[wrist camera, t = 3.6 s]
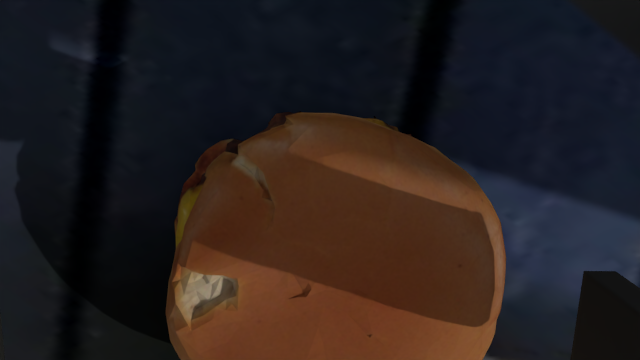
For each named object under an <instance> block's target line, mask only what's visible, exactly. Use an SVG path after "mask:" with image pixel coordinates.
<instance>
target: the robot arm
mask: <svg viewBox="0 0 640 360" xmlns="http://www.w3.org/2000/svg"><path fill="white" fill-rule="evenodd" d="M0 360H5V357H4V346H3V336H2V325H1V315H0ZM571 360H640V288H639V287H637V286H636V285H634V284H633V283H631V282H630V281H629V280H627V279H626V278H624V277H623V276H621V275H620V274H618V273H617V272H616V271H584V274H583V281H582V287H581V294H580V301H579V307H578V314H577V321H576V327H575V334H574V341H573V348H572V354H571Z"/></svg>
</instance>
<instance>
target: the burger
mask: <svg viewBox="0 0 640 360" xmlns="http://www.w3.org/2000/svg"><path fill="white" fill-rule="evenodd" d="M268 124H269V126H268V127H267V128H266V129H265V130H263V131H261V132H259V133H258V134H256V135H254V136H252V137H251V138H249V139H247V140H245V141H240V140H236V139H228V140H223V141H220V142H218V143H216V144H215V145H213V146H212V147H210V148H208V149H207V150H206V151H205V152H204V153H203V154H202V155H201V156H200V158H199V159H198V161H197V162H196V164H195V168H196V171H195V172H194V173H193V174H192V175H191V177H190V178H189V179H188V180H187V181H186V182H185V183H184V185H183V189H182V192H181V196H180V200H179V205H178V215H177V217H176V219H175V236H176V251H175V256H174V261H173V266H172V271H171V275H170V278H169V283H168V293H167V303H166V318H167V324H168V330H169V336H170V341H171V343H172V345H173V347H174V349H175V350H176V352H177V354H178V356H179V358H180V359H181V360H483V358H484V356H485V354H486V352H487V350H488V348H489V346H490V344H491V342H492V339H493V337H494V334H495V328H496V320H497V318H498V315H499V313H500V310H501V304H502V298H503V292H504V285H505V267H506V254H505V248H504V241H503V234H502V228H501V222H500V220H499V218H498V216H497V214H496V212H495V210H494V208H493V206H492V204H491V202H490V201H489V199H488V198H487V196H486V195H485V193H484V192H483V191H482V189H481V188H480V186H479V185H478V184H477V182H476V181H475V179H474V178H473V177H472V176H470V175H469V174H468V173H467V172H466V171H465V170H464V169H462V168H461V167H459V166H458V165H457V164H455V163H454V162H453V161H451V160H450V159H449V158H447V157H446V156H445V155H443V154H442V153H441V152H440V151H439V150H437V149H436V148H435V147H433V146H430V145H428V144H426V143H424V142H422V141H420V140H418V139H416V138H414V137H412V136H411V134H403V133H401V132H399V131H398V128H397V127H395V126H391V125H388V124H386V123H384V122H383V121H381V120H379V119H376V117H375V116H374V118H360V117H354V116H348V115H342V114H335V113H303V112H301V111H300V112H297V113H291V112H284V113H278V114H276V115H275V116H274V117H273V118H272V119H271V121H270V122H269V123H268Z"/></svg>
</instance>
